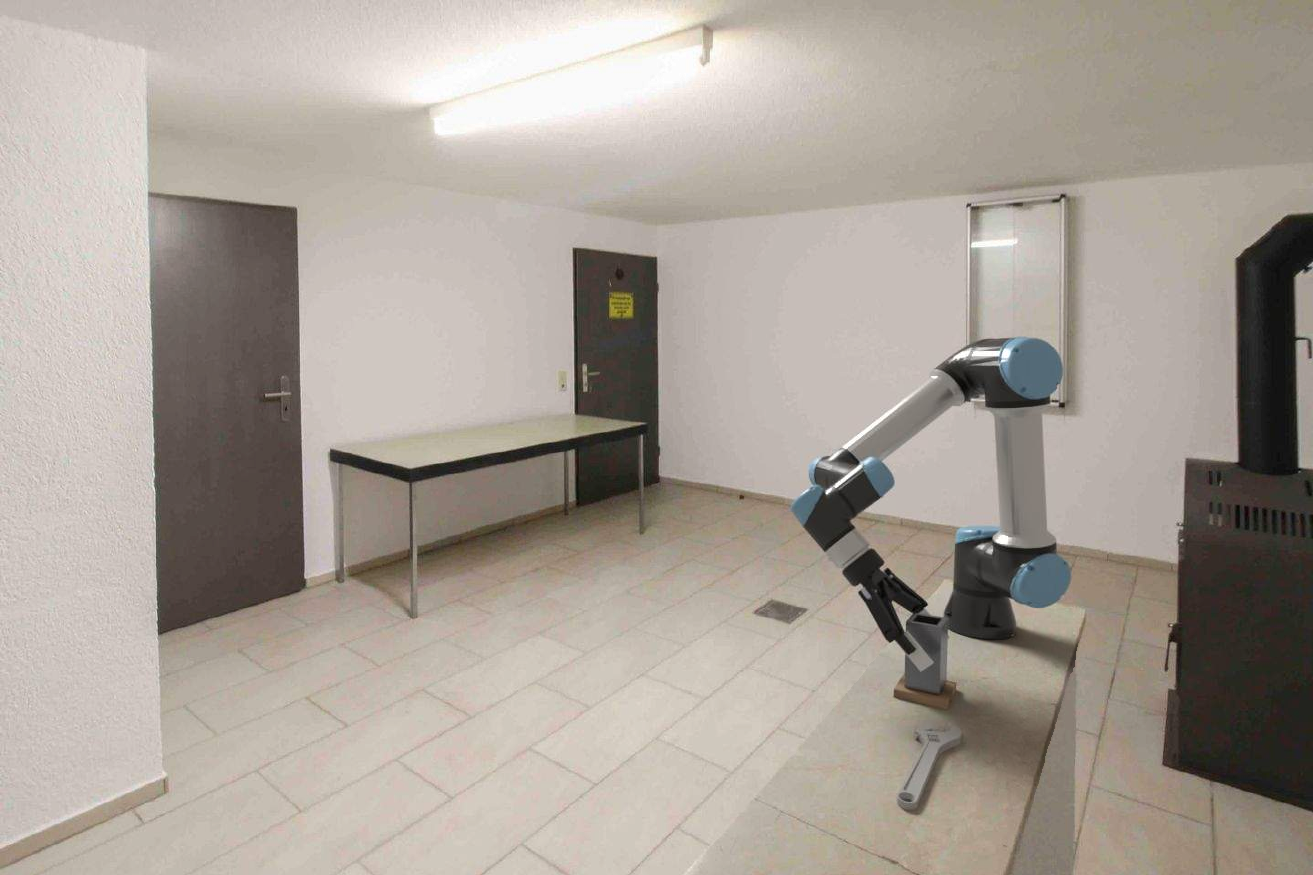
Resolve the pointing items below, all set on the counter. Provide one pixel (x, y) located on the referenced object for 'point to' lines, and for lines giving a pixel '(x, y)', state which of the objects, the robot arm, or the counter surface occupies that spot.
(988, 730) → the counter surface
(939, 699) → the drive block
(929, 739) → the adjustable wrench
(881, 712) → the counter surface
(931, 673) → the grey square tube
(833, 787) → the counter surface
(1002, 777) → the counter surface
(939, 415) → the robot arm
